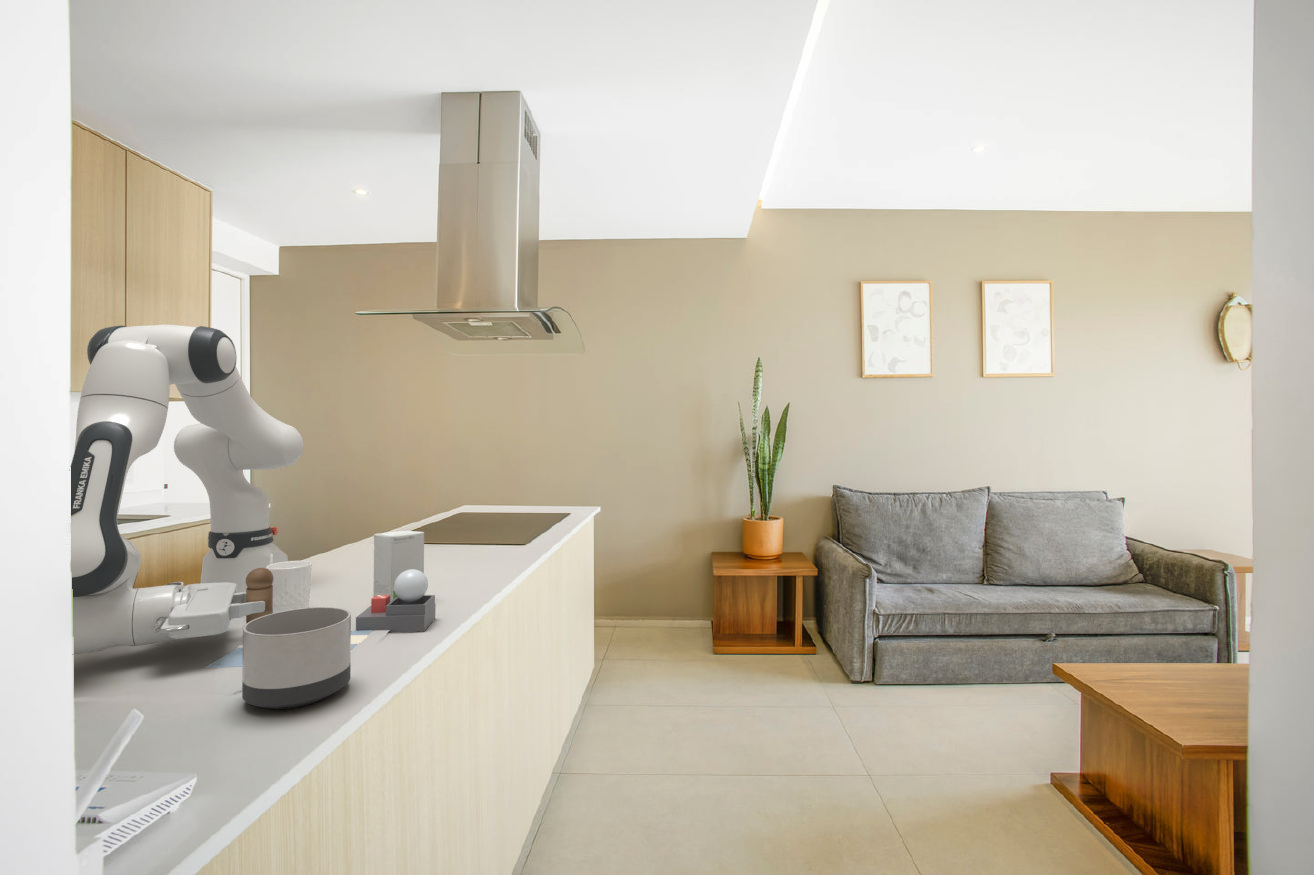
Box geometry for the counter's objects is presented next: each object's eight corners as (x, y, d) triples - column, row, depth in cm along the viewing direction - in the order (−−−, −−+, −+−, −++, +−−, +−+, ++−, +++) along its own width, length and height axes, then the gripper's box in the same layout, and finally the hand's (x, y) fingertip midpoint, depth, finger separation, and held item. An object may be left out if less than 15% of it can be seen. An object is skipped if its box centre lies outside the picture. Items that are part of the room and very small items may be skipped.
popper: (371, 620, 116) (371, 591, 116) (435, 618, 118) (435, 589, 118) (355, 633, 108) (356, 602, 108) (424, 631, 110) (424, 600, 110)
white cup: (320, 609, 124) (320, 561, 124) (293, 620, 116) (293, 569, 116) (284, 607, 124) (285, 560, 124) (255, 619, 117) (256, 568, 117)
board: (260, 636, 106) (260, 633, 106) (374, 633, 109) (374, 629, 109) (202, 672, 90) (202, 667, 90) (338, 667, 93) (338, 663, 93)
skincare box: (390, 613, 121) (390, 536, 121) (370, 608, 125) (371, 533, 125) (425, 603, 128) (425, 531, 128) (406, 599, 132) (406, 528, 132)
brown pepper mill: (253, 629, 104) (253, 565, 104) (279, 629, 105) (280, 565, 104) (238, 638, 100) (238, 571, 100) (266, 637, 100) (266, 570, 100)
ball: (399, 597, 116) (399, 566, 116) (431, 596, 117) (431, 566, 117) (389, 606, 110) (389, 573, 110) (423, 605, 111) (423, 572, 111)
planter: (363, 696, 83) (363, 620, 83) (253, 727, 74) (253, 642, 74) (334, 670, 92) (335, 602, 92) (233, 694, 83) (234, 619, 83)
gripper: (149, 611, 86) (263, 598, 94) (173, 580, 104) (267, 571, 111) (149, 654, 86) (263, 638, 94) (173, 616, 104) (267, 604, 111)
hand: (265, 601), depth 103 cm, fingers closed on brown pepper mill, 4 cm apart
